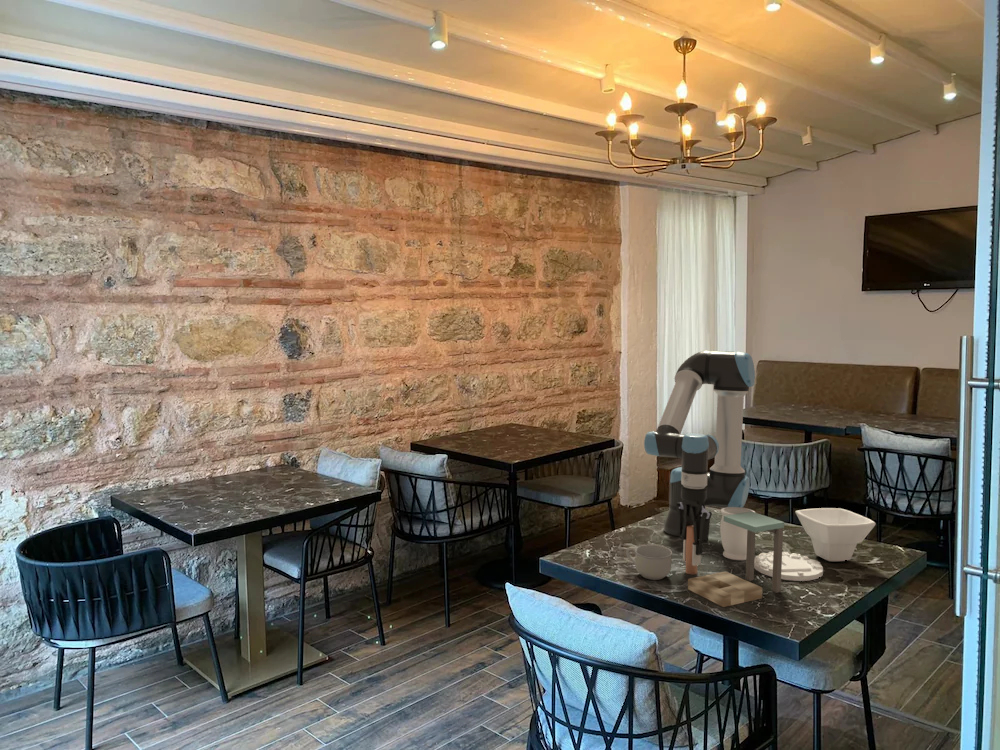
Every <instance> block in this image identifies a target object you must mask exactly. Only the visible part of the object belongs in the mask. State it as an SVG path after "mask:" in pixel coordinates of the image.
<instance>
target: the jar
mask: <svg viewBox="0 0 1000 750" xmlns="http://www.w3.org/2000/svg"><path fill="white" fill-rule="evenodd" d="M746 512H755V513H756V511H755V510H753V509H751V508H745V507H743V508H741V507H726V508H720V513H721V515H722V516H721V520H720V527H719V531H720V532H719V533H720V537H721V540H720V541H721V545H722V547H723V550H724V551H723V552H722V556H723V557H725V558H727V559H729V560H734V561H746V554H747V529H744V528H741V527H738V526H735V525H733V524H730V523H727V522H724V521H723V519H724V516H727V515H733V514H740V513H746Z"/></svg>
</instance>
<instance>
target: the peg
mask: <svg viewBox="0 0 1000 750" xmlns="http://www.w3.org/2000/svg"><path fill="white" fill-rule="evenodd" d="M694 542H695V540H694V528H693V525H689V526H687V537H686V561H685V574H687V575H697V574H698V565H695V566H693V565H692V547H693V543H694Z"/></svg>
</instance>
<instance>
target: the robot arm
mask: <svg viewBox="0 0 1000 750" xmlns="http://www.w3.org/2000/svg"><path fill="white" fill-rule="evenodd" d="M755 372H756V371H755V365H754V360H753V357H752V356H751V354H749V353H748V352H744V351H743V352H742V351H736V350H735V351H730V350H729V351H727V350H726V351H723V350H721V351H720V350H702V351H699V352H695V353H694V354H692V355H691V356H689V357H688V358H686V359H685V360H684V361H683V363H681V364H680V366H679V367H678V369H677V371H676V372H675V374H674V375H675V376H674V386H673V388H672V390H671V394H670V395H669V398H668V401H667V403H666V406H665V408H664V411H663V414H662V416H661V417H660V421H659V423H658V426H657V429H656V431H655V430H653V431H648V432H646V434H645V436H644V441H643V447H644V450H645V453H646V454H647V455H650V456H655V457H656V456H657V457H664V458H676V459H681V466H680V467H679V466H678V467H676V468H673V469H672V470H671V471H670V476H669V477H670V480H669V508H668V509H669V510H668V512H667V515H666V518H665V520H664V523H663V531H664V532H665V533H666V534H669V535H670V536H671V535H672V536H674V537H680V538H681V539H682V540H681V542H682V546H681V547H682V562H685V563H686V537H687V526H689V525H693V528H694V540H695V542H694V543H693V547H692V565H693V566H695V565H697V566H700V565H701V564H702V563H701V562H702V561H701V560H702V555H703V545H705V544H708V543H709V535H710V524H711V523H710V522H711V518H712V515H713V513H712V511H708V510H707V509H706V507H714V508H720V509H722V508H726V507H741V508H744V506H745V504H746V502H747V499H748V495H749V491H750V485H751V484H750V482H751V481H750V477H749V476H747V475H746V474H745V473H746V470H745V469H744V468H743V467H742V465H741V461H742V460H741V459H742V442H743V422H744V420H743V419H744V404H745V403H744V401H745V400H744V397H745V396H746V395H747V393H749V390H750V388H752V387H754V385H755V379H756V374H755ZM703 385H713V391H714V392H715V394H717V400H716V401H717V403H716V405H717V407H716V421H715V422H716V425H715V426H716V428H715V436H713V435H711V434H703V433H698V432H697V433H691V432H690V433H686V434H685V433H684V434H682V431H683V428H684V426H685V423H686V422H687V421H686V420H687V418H688V416H689V413H690V409H691V407H692V404H693V402H694V399H695V396H696V394H697V391H699V390H700V389H702V386H703ZM712 459H714V463H713V465H712V466H711V467H709V469H708V465H709V460H712Z"/></svg>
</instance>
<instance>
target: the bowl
mask: <svg viewBox="0 0 1000 750" xmlns="http://www.w3.org/2000/svg"><path fill="white" fill-rule="evenodd" d="M795 515H796V516H797V518H798V520H799V523H800V524H801V526H802V528H803V530H804V531H805V533H806V534H807V535H808V536H809V537H810V540H811V543H812V547H813V551H814V554H815V555H816V556H818V557H820V558H822V559H824V560H825V561H828V562H845V560H847V561H851V559H852V557H853V554H854V552H855V551H856V548H857V545H858V544H859V543H862V542H863V541H864V540H865V539H866V537H867V536H868V535H869V534H870V532H871V531H872V530H873V529H874V528H875V526H876V522H875V521H874V520H872V519H870V518H868V517H866V516H864V515H861V514H859V513H856V512H853V511H851V510H848V509H844V508H841V507H838V508H836V507H821V508H820V507H819V508H806V509H799V510H795Z"/></svg>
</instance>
